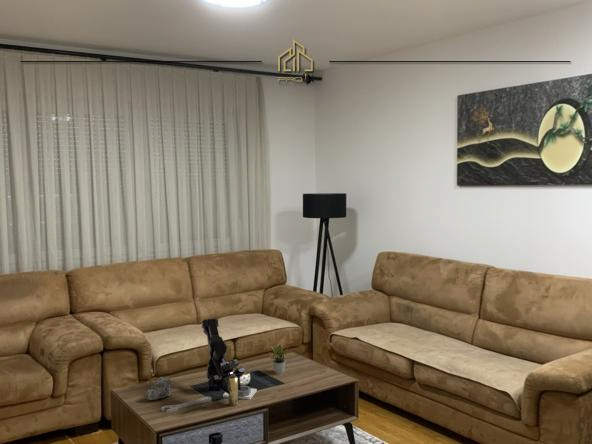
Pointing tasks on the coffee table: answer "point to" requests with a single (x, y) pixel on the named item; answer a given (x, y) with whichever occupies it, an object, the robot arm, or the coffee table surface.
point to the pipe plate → (243, 393)
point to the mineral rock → (159, 389)
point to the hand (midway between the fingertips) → (234, 391)
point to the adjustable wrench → (183, 405)
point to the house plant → (278, 359)
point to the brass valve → (233, 390)
